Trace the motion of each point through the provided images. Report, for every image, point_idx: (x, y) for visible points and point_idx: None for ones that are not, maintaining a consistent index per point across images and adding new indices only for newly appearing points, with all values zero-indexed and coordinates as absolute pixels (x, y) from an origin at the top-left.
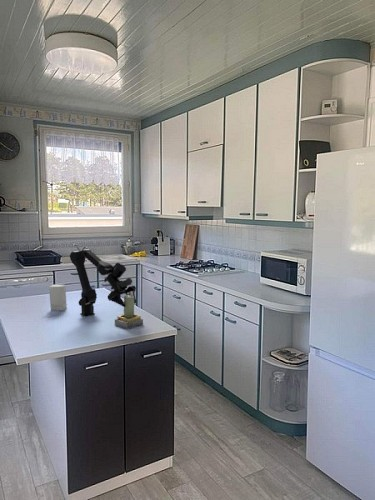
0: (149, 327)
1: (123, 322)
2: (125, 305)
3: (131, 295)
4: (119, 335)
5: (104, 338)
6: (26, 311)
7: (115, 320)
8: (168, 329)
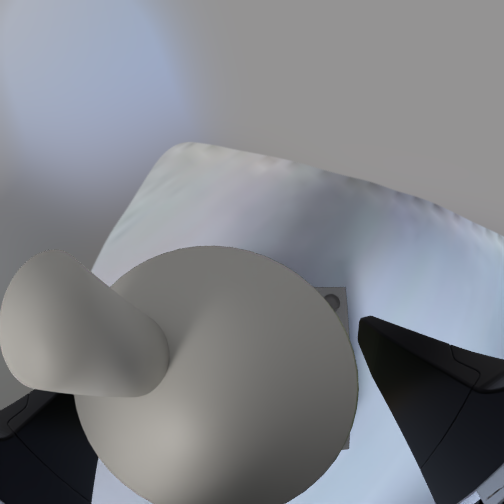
0: (213, 227)
1: (348, 334)
2: (364, 318)
3: (145, 319)
4: (418, 248)
5: (475, 267)
6: None
7: (348, 436)
8: (183, 152)
